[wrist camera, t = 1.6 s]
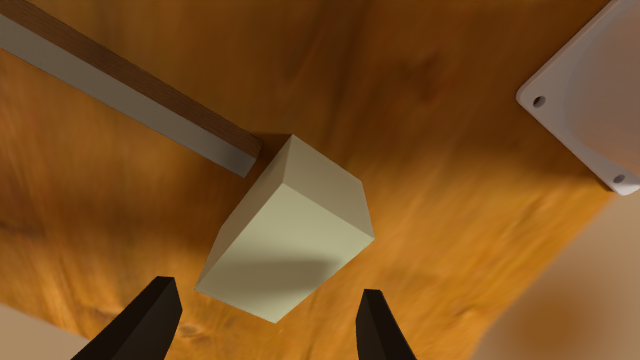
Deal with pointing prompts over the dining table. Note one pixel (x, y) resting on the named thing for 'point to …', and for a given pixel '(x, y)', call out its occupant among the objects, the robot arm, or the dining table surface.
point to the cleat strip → (123, 86)
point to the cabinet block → (287, 234)
